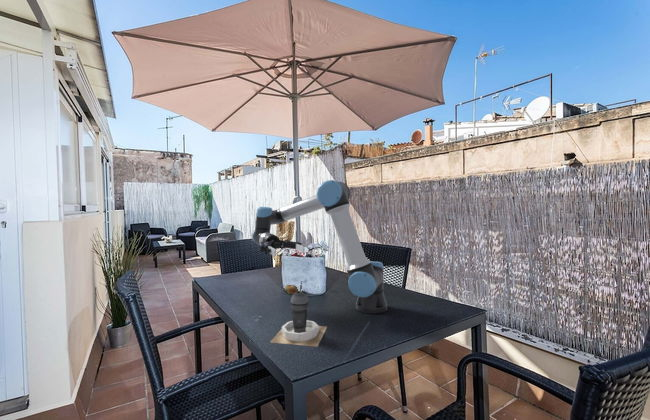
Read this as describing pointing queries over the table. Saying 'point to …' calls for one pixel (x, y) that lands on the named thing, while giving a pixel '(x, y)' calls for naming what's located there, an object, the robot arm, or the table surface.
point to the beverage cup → (299, 310)
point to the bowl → (310, 333)
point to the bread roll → (291, 289)
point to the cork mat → (313, 342)
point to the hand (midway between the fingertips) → (289, 251)
